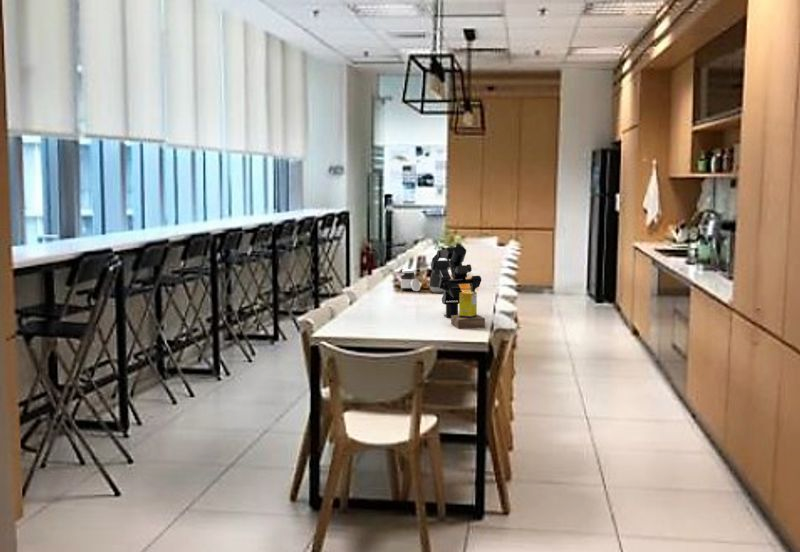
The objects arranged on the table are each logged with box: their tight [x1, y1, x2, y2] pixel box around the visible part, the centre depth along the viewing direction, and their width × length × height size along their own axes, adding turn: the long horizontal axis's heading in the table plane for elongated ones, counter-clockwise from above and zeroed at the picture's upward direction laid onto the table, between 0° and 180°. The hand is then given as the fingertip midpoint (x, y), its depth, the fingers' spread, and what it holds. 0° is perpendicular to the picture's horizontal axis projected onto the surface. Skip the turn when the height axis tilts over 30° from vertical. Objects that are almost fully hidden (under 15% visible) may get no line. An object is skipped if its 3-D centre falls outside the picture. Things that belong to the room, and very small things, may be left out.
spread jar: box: [400, 268, 421, 292], centre depth 523 cm, size 12×11×12 cm
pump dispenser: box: [428, 271, 445, 294], centre depth 514 cm, size 10×10×15 cm
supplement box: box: [458, 290, 478, 318], centre depth 405 cm, size 6×6×11 cm
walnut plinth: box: [450, 314, 486, 330], centre depth 406 cm, size 12×12×4 cm
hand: (463, 296), depth 411 cm, fingers open, 9 cm apart
